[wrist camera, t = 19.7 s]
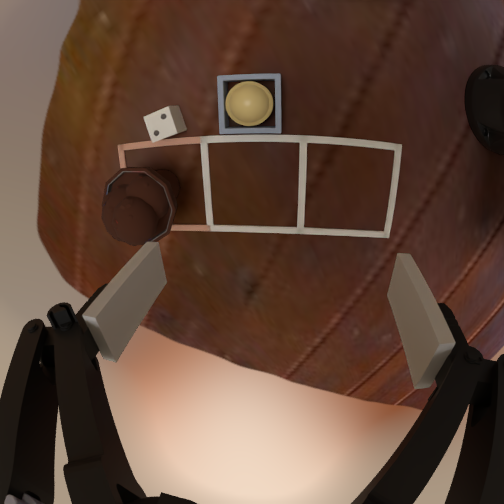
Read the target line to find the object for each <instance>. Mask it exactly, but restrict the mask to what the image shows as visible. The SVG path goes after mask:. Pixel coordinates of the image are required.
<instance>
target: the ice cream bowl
mask: <svg viewBox="0 0 504 504" xmlns="http://www.w3.org/2000/svg"><path fill="white" fill-rule="evenodd" d="M179 189H180V185H179V182H178V179H177V177H176V176H175V175H174V174H173V173H171V172H170V171H169V170H157V171H155V170H153V169H152V168H150V167H127V168H121V169H120V170H119V171H118V172H117V173H116V174H115V175H114V176H113V177H112V178H110V179H109V180H108V181H107V182H106V184H105V191H104V197H103V202H102V206H103V207H102V220H103V223H104V225H105V227H106V230H107V232H108V233H110V234H111V235H112V237H113V238H114V239H117V240H118V241H123V242H126V243H128V244H129V245H133V246H136V245H143V244H145V243H146V242H157V241H159V240H160V239H162V238H163V237H165V236H166V235H168V234H169V233H170V230H171V228H172V224H173V220H174V217H175V213H176V210H177V202H176V199H175V198H176V197H177V196H178V193H179Z"/></svg>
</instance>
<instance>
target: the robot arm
mask: <svg viewBox="0 0 504 504" xmlns="http://www.w3.org/2000/svg"><path fill="white" fill-rule="evenodd" d="M465 107H466V113H467V117H468V121H469V124H470V126H471V129H472V131H473V133H474V134H475V136H476V138H477V139H478V140H479V142H480V143H481V144H482V145H483V146H484V147H486V148H487V149H489V150H490V151H493V152H495V153H497V154H500V155H504V67H502V66H498V65H484V66H481V67H479V68H477V69H476V70H475V71H474V72H473V73H472V74H471V76H470V78H469V80H468V83H467V86H466V92H465ZM166 283H167V281H166V276H165V272H164V267H163V262H162V257H161V252H160V247H159V242H146V243H145V244H144V245H143V247H142V248H141V249H140V250H139V251H138V252H137V253H136V254H135V255H134V256H133V257H132V258H131V259H130V260H129V262H128V263H127V264H126V265H125V266H124V267H123V268H122V269H121V270H120V271H119V273H118V274H117V275H116V276H115V277H114V278H113V279H112V280H111V282H110V283H109V284H105V285H103V286H102V287H100V288H98V289H97V290H96V292H95V293H94V294H93V296H91V297H90V298H89V300H88V301H87V302H86V303H85V304H84V305H83V307H82V308H81V309H80V310H79V311H78V313H77V314H76V315H75V313H74V311H73V309H72V307H71V305H70V304H68V303H59V304H57V305H55V306H53V307H52V308H51V309H50V310H49V311H48V313H47V317H48V319H49V321H50V323H51V325H52V327H45V325H44V323H43V321H42V320H40V319H33V320H31V321H29V322H28V323H27V324H26V325H25V326H24V328H23V330H22V332H21V335H20V337H19V340H18V343H17V346H16V348H15V351H14V354H13V357H12V360H11V363H10V366H9V370H8V373H7V376H6V380H5V383H4V386H3V390H2V394H1V398H0V504H53V502H54V459H55V438H56V424H57V414H58V405H59V412H60V419H61V425H62V431H63V437H64V442H65V447H66V452H67V456H68V464H66V465H64V468H63V471H64V477H65V480H66V484H67V488H68V492H69V495H70V498H71V502H72V504H197V503H195V502H193V501H191V500H187V499H183V498H179V497H176V496H172V495H169V494H165V493H162V492H161V494H160V497H146V495H145V493H144V491H143V490H142V488H141V487H140V485H139V484H138V483H137V481H136V479H135V477H134V475H133V473H132V470H131V468H130V466H129V463H128V460H127V458H126V455H125V452H124V449H123V447H122V444H121V441H120V438H119V435H118V432H117V429H116V426H115V423H114V420H113V416H112V413H111V410H110V406H109V403H108V399H107V395H106V392H105V388H104V384H103V380H102V375H101V371H100V367H99V362H98V359H97V357H96V355H97V353H98V352H99V351H100V353H101V355H102V357H103V358H104V359H106V360H109V361H113V362H117V360H118V359H119V357H120V355H121V354H122V352H123V351H124V349H125V347H126V346H127V344H128V342H129V340H130V339H131V337H132V336H133V334H134V333H135V331H136V329H137V328H138V326H139V325H140V323H141V321H142V320H143V318H144V317H145V315H146V314H147V312H148V310H149V309H150V307H151V306H152V304H153V303H154V301H155V300H156V298H157V297H158V295H159V294H160V292H161V290H162V289H163V287H164V286H165V284H166ZM387 296H388V299H389V302H390V305H391V308H392V311H393V314H394V317H395V320H396V324H397V327H398V330H399V333H400V337H401V340H402V343H403V347H404V350H405V354H406V358H407V361H408V365H409V369H410V373H411V377H412V381H413V385H414V389H418V388H428V387H430V386H431V384H432V383H433V381H434V380H436V384H437V387H436V389H435V390H434V391H433V393H432V394H431V396H430V397H429V399H428V402H427V404H426V406H425V407H424V409H423V411H422V412H421V414H420V416H419V417H418V419H417V420H416V422H415V423H414V425H413V426H412V428H411V429H410V431H409V432H408V434H407V435H406V437H405V438H404V440H403V441H402V442H401V444H400V445H399V447H398V448H397V449H396V451H395V452H394V454H393V455H392V456H391V457H390V459H389V460H388V462H387V463H386V464H385V465H384V466H383V468H382V469H381V470H380V471H379V473H378V474H377V475H376V476H375V477H374V479H373V480H372V481H371V482H370V483H369V484H368V486H367V487H366V488H365V489H364V490H363V491H362V492H361V493H360V495H359V496H358V497H357V498H356V499H355V500H354V501H353V502H352V503H351V504H413V503H414V502H415V500H416V499H417V498H418V496H419V495H420V493H421V492H422V490H423V489H424V487H425V486H426V484H427V483H428V481H429V480H430V478H431V477H432V475H433V473H434V472H435V470H436V468H437V467H438V465H439V463H440V461H441V460H442V458H443V456H444V454H445V453H446V451H447V449H448V447H449V445H450V443H451V441H452V439H453V437H454V435H455V433H456V431H457V429H458V427H459V425H460V423H461V421H462V419H463V416H464V414H465V412H466V410H467V407H468V405H469V404H470V405H469V412H468V418H467V424H466V429H465V434H464V439H463V443H462V448H461V452H460V456H459V460H458V463H457V467H456V471H455V474H454V478H453V481H452V484H451V487H450V490H449V493H448V496H447V499H446V501H445V504H504V354H502V355H501V356H500V357H499V358H498V360H497V361H492V360H487V359H483V356H482V354H481V353H480V352H479V351H478V350H477V349H476V348H474V347H471V346H469V345H468V343H467V341H466V339H465V337H464V334H463V332H462V330H461V328H460V326H458V322H457V320H456V319H455V316H454V314H453V312H452V311H451V309H450V308H449V307H448V306H447V305H445V304H444V303H437V302H436V300H435V298H434V296H433V294H432V292H431V290H430V289H429V287H428V285H427V283H426V281H425V279H424V277H423V276H422V274H421V272H420V270H419V269H418V267H417V265H416V263H415V262H414V260H413V258H412V256H411V255H410V254H404V253H397V257H396V262H395V266H394V270H393V274H392V278H391V282H390V286H389V290H388V293H387Z"/></svg>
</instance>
